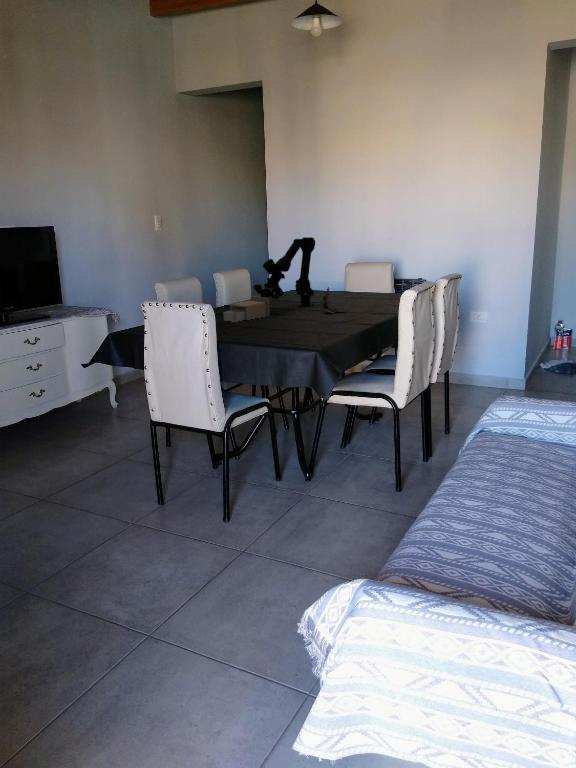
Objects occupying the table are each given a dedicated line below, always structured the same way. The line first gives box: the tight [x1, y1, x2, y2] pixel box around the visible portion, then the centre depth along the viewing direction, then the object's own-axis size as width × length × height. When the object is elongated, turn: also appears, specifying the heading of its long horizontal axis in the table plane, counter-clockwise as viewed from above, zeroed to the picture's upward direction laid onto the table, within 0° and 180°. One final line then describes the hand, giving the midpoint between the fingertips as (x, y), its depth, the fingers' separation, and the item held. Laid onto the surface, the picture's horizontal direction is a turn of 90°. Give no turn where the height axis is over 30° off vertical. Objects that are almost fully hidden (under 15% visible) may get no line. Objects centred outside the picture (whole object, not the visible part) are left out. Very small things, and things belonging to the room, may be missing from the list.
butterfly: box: [320, 286, 345, 314], centre depth 344 cm, size 17×10×10 cm
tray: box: [222, 295, 271, 323], centre depth 336 cm, size 24×13×10 cm, turn 137°
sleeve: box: [229, 300, 267, 321], centre depth 337 cm, size 14×13×8 cm
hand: (261, 302), depth 344 cm, fingers closed
